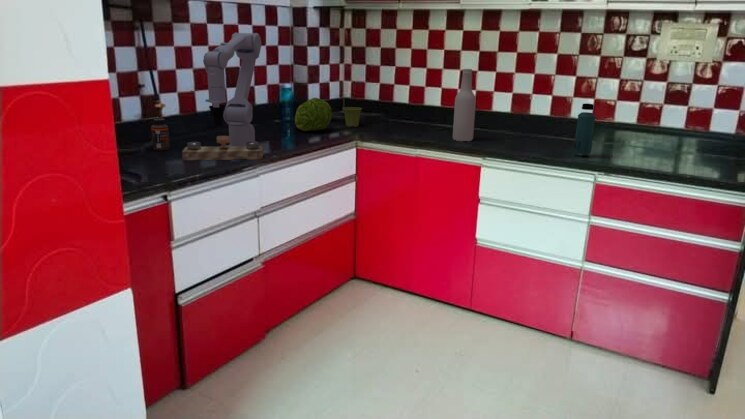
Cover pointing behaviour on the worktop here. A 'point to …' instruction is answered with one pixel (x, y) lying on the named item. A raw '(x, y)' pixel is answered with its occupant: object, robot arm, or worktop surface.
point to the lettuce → (313, 115)
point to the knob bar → (222, 153)
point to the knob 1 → (194, 145)
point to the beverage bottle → (584, 130)
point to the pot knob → (223, 140)
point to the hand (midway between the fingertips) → (218, 125)
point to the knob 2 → (252, 145)
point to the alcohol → (464, 109)
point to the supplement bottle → (160, 135)
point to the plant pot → (352, 116)
